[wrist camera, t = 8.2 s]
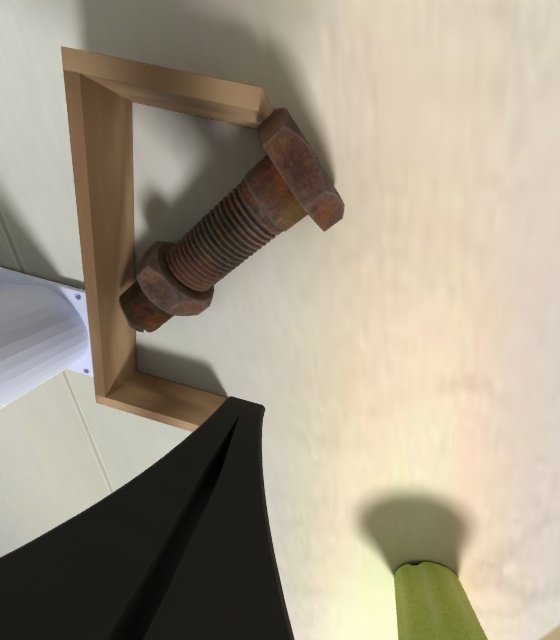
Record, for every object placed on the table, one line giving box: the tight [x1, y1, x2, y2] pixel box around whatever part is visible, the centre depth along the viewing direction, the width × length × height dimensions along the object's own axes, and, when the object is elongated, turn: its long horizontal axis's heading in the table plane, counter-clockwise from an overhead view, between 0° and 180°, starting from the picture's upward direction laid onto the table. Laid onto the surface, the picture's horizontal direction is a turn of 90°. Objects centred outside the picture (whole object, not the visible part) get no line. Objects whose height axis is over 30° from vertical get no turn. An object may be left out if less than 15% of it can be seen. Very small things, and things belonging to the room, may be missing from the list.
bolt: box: [118, 108, 344, 332], centre depth 16 cm, size 6×5×15 cm
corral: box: [61, 46, 274, 432], centre depth 17 cm, size 9×21×4 cm, turn 168°
